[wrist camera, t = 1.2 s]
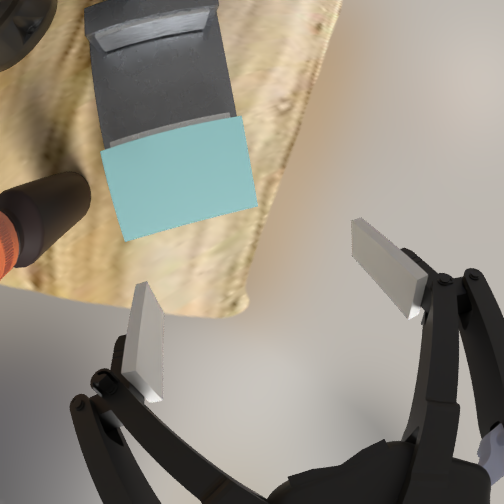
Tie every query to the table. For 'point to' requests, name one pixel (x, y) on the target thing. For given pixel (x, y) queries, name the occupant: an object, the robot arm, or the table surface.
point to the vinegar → (39, 216)
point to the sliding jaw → (179, 174)
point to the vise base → (156, 64)
